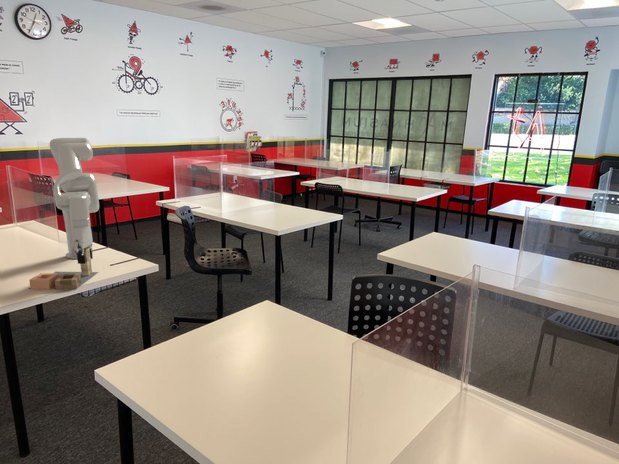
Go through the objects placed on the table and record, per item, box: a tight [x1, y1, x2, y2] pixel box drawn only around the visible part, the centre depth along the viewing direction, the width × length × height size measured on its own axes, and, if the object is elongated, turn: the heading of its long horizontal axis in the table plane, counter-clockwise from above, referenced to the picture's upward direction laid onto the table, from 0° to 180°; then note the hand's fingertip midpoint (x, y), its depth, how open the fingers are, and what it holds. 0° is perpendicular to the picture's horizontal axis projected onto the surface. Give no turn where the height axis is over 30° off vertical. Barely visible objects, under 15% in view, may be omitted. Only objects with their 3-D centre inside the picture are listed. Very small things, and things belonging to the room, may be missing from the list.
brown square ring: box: [55, 273, 81, 291], centre depth 191 cm, size 8×8×4 cm
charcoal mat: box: [28, 271, 100, 291], centre depth 198 cm, size 21×20×1 cm
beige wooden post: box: [79, 246, 93, 276], centre depth 203 cm, size 3×3×14 cm
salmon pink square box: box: [28, 272, 59, 290], centre depth 191 cm, size 8×8×4 cm
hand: (85, 260), depth 204 cm, fingers open, 5 cm apart
